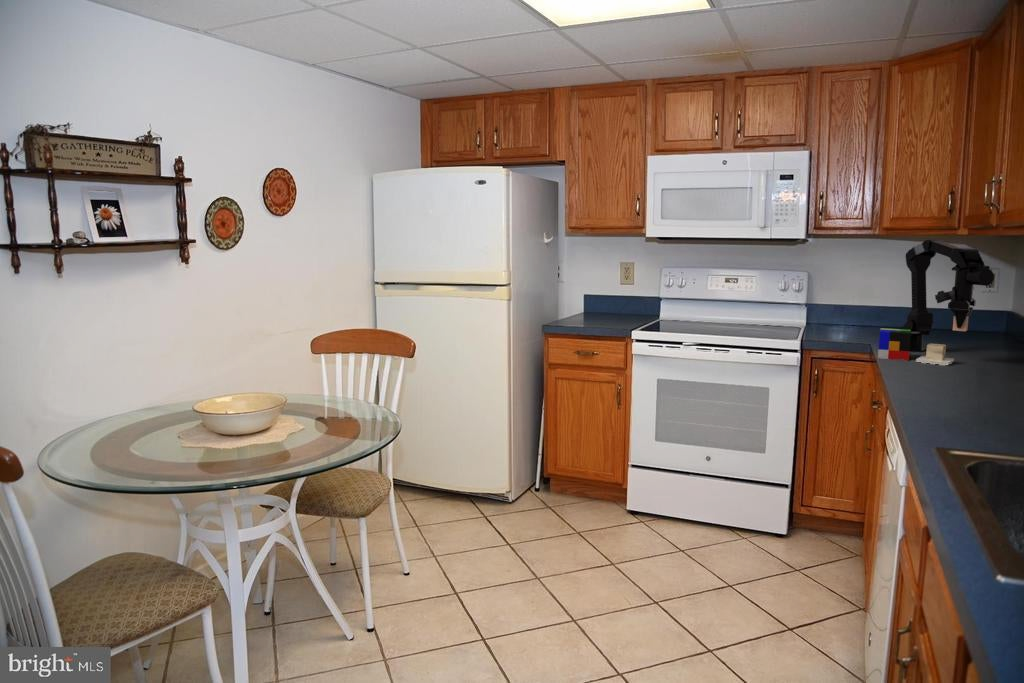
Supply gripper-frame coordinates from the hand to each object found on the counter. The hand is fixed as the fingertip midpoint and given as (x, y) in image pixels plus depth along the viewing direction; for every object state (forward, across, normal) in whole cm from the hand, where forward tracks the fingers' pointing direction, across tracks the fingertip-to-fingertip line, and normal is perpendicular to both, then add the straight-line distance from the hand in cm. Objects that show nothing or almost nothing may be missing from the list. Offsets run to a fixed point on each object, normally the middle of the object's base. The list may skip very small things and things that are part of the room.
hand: (959, 327), depth 261 cm
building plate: (+12, +9, -6) cm, 16 cm away
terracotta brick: (+1, 0, 0) cm, 1 cm away
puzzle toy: (+12, +7, -20) cm, 24 cm away
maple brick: (+11, +9, -6) cm, 15 cm away
